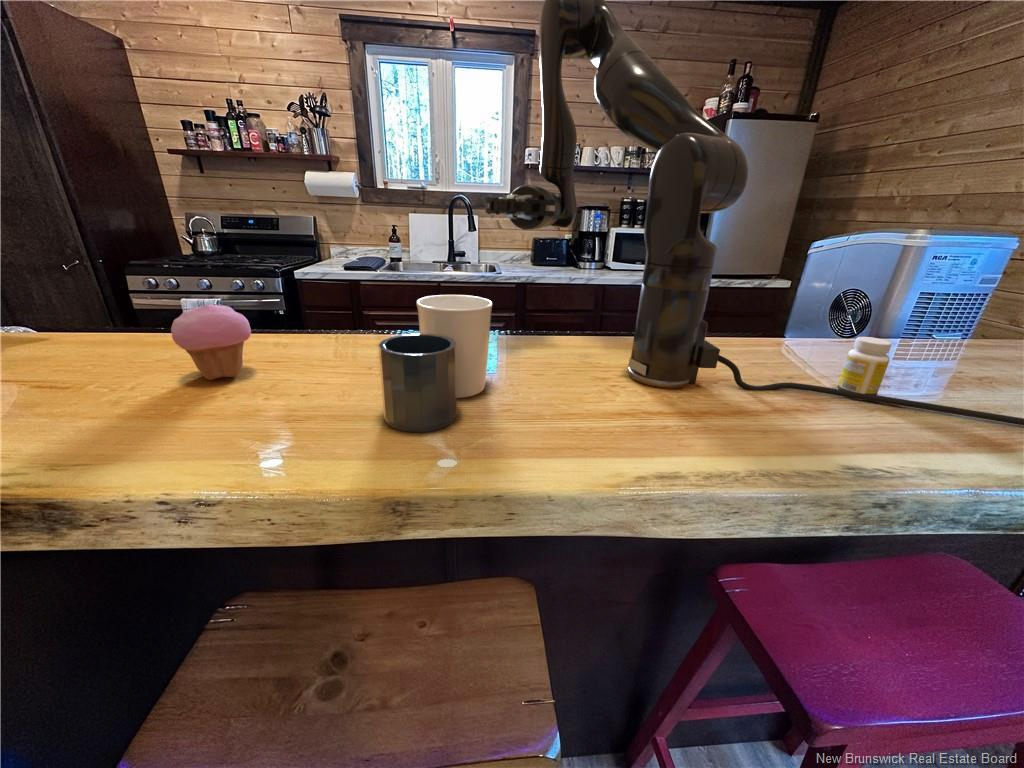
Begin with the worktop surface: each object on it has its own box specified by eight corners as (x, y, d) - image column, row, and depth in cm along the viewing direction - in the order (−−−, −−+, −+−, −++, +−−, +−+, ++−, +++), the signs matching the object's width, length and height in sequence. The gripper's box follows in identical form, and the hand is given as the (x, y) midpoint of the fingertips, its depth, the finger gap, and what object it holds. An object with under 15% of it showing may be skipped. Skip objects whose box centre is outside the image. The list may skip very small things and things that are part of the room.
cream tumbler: (494, 377, 65) (497, 297, 61) (484, 403, 56) (486, 311, 52) (430, 372, 66) (428, 292, 62) (410, 397, 57) (405, 306, 52)
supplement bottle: (870, 392, 66) (890, 339, 63) (879, 403, 62) (901, 347, 59) (832, 386, 68) (850, 334, 64) (839, 397, 64) (858, 341, 60)
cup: (458, 402, 56) (458, 334, 53) (452, 433, 48) (452, 356, 45) (393, 400, 56) (388, 332, 53) (376, 431, 48) (370, 354, 45)
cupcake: (255, 362, 67) (243, 297, 63) (261, 380, 60) (248, 309, 56) (184, 371, 62) (166, 301, 58) (182, 392, 56) (162, 315, 52)
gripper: (500, 185, 82) (463, 177, 67) (569, 187, 79) (546, 179, 63) (499, 227, 85) (463, 229, 70) (565, 230, 81) (543, 234, 66)
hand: (502, 205), depth 66 cm, fingers closed
